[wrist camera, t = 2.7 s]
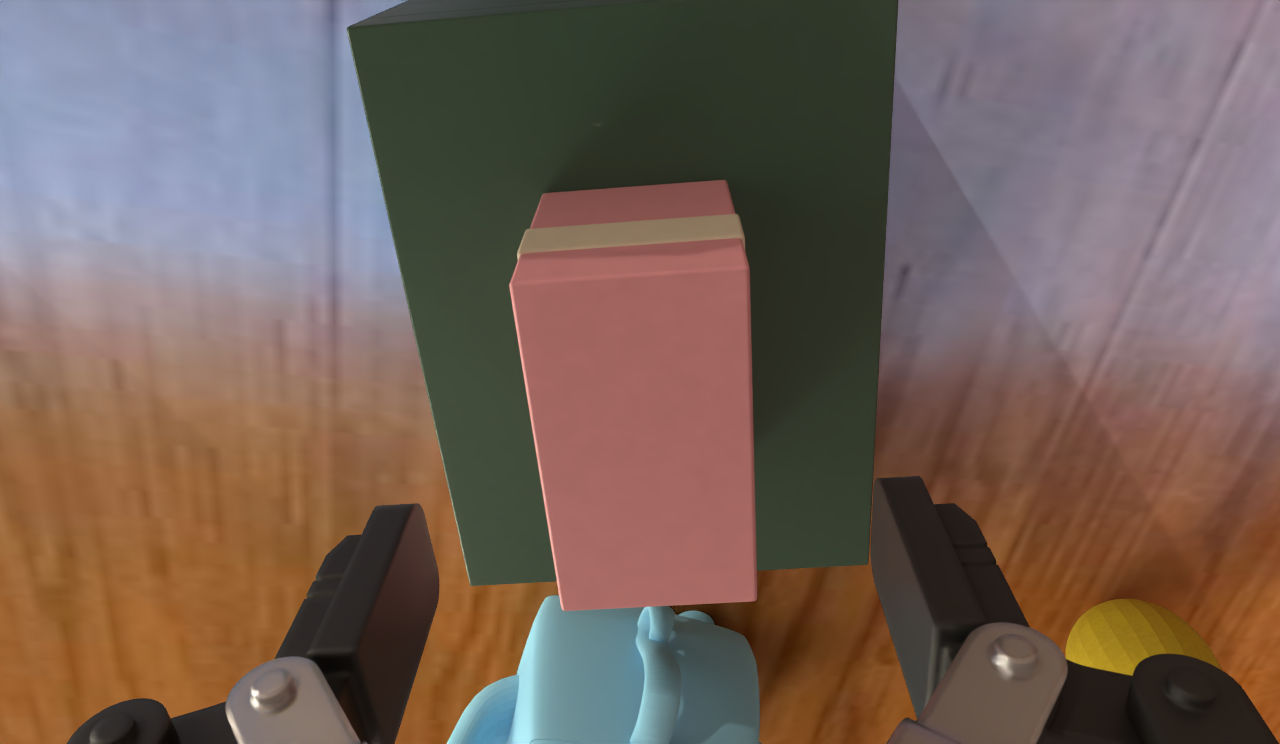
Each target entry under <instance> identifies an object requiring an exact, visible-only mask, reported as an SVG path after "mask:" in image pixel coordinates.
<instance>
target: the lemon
mask: <svg viewBox="0 0 1280 744" xmlns="http://www.w3.org/2000/svg"><path fill="white" fill-rule="evenodd" d="M1158 654H1180V655H1186V656H1190V657H1193V658H1197V659H1200V660H1202V661H1205V662H1207V663H1209V664H1211V665H1213V666H1215V667H1217V668H1219V669H1220V670H1222V669H1221V667H1220V665H1219V663H1218V661H1217V659H1216V657H1215V655H1214V654H1213V652H1212V650H1211V649H1210V647H1209V646H1208V645H1207V643H1206V642H1205V641H1204V639H1203V638H1202V637H1201V636H1200V635H1199V634H1198V633H1197V632H1196V631H1195V630H1194V629H1193V628H1192V627H1191V626H1189V625H1188V624H1187V623H1186V622H1185V621H1184V620H1183V619H1182V618H1180V617H1179V616H1178V615H1176V614H1175V613H1173V612H1171V611H1170V610H1168V609H1166V608H1163V607H1161V606H1159V605H1157V604H1154V603H1152V602H1147V601H1142V600H1137V599H1115V600H1109V601H1106V602H1103V603H1100V604H1098V605H1096V606H1094V607H1092V608H1091V609H1089V610H1087V611H1086V612H1085V613H1084V614H1083V615H1082V616H1081V617H1080V618H1079V619H1078V620H1077V622H1076V623H1075V624H1074V626H1073V627H1072V629H1071V632H1070V634H1069V637H1068V640H1067V644H1066V659H1067V660H1070V661H1072V662H1074V663H1077V664H1080V665H1083V666H1087V667H1091V668H1096V669H1101V670H1106V671H1111V672H1116V673H1121V674H1126V675H1131V676H1133V672H1134V670H1135V667H1136V666H1137V665H1138V664H1139V662H1141V661H1142V660H1144V659H1145V658H1147V657H1150V656H1153V655H1158Z"/></svg>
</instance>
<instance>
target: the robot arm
mask: <svg viewBox="0 0 1280 744" xmlns="http://www.w3.org/2000/svg"><path fill="white" fill-rule="evenodd" d="M871 564H872V572H873V578H874V582H875V586H876V589H877V592H878V595H879V599H880V602H881V605H882V608H883V611H884V614H885V618H886V621H887V624H888V627H889V630H890V633H891V637H892V640H893V643H894V646H895V649H896V653H897V656H898V659H899V662H900V665H901V668H902V672H903V675H904V678H905V681H906V684H907V687H908V691H909V694H910V697H911V700H912V703H913V707H914V710H915V713H916V716H917V720H916V721H914V720H912V719H910V718H905V719H903V720H902V721H901V722H900V724H899V725H898V726H897V728H896V729H895V731H894V732H893V734H892V735H891V737H890V739H889V740H888V742H887V744H1279V743H1278V741H1277V740H1276V738H1275V737H1274V735H1273V734H1272V732H1271V731H1270V729H1269V728H1268V726H1267V725H1266V723H1265V722H1264V720H1263V719H1262V717H1261V715H1260V714H1259V712H1258V711H1257V709H1256V708H1255V706H1254V705H1253V703H1252V702H1251V700H1250V699H1249V697H1248V696H1247V694H1246V693H1245V691H1244V690H1243V689H1242V687H1241V686H1240V685H1239V684H1238V683H1237V682H1236V681H1235V680H1234V679H1233V678H1232V677H1230V676H1229V675H1228V674H1227V673H1225V672H1224V671H1222V670H1220V669H1219V668H1217V667H1215V666H1213V665H1211V664H1209V663H1207V662H1205V661H1202V660H1200V659H1197V658H1193V657H1190V656H1186V655H1180V654H1158V655H1153V656H1150V657H1147V658H1145V659H1144V660H1142V661H1141V662H1139V664H1138V665H1137V666H1136V667H1135V670H1134V672H1133V676H1131V675H1126V674H1121V673H1116V672H1111V671H1106V670H1101V669H1096V668H1091V667H1087V666H1083V665H1080V664H1077V663H1074V662H1072V661H1070V660H1067V659H1066V658H1065V656H1064V654H1063V652H1062V651H1061V650H1060V648H1059V647H1058V646H1057V645H1056V644H1055V643H1054V642H1053V641H1052V640H1051V639H1049V638H1048V637H1047V636H1045V635H1043V634H1042V633H1040V632H1038V631H1036V630H1034V629H1032V628H1030V627H1029V625H1028V623H1027V621H1026V619H1025V617H1024V615H1023V613H1022V611H1021V609H1020V607H1019V605H1018V603H1017V601H1016V599H1015V597H1014V595H1013V593H1012V591H1011V589H1010V587H1009V585H1008V583H1007V581H1006V579H1005V577H1004V575H1003V573H1002V571H1001V570H1000V568H999V566H998V565H996V560H995V558H994V556H993V554H992V552H991V550H990V548H989V547H987V542H986V540H985V538H984V536H983V534H982V532H981V530H980V528H979V526H978V524H977V522H976V521H975V520H974V519H972V518H971V517H970V516H969V515H968V514H966V513H965V512H964V511H963V510H962V509H960V508H959V507H958V506H957V505H956V504H954V503H952V504H933V502H932V499H931V497H930V495H929V493H928V491H927V488H926V486H925V484H924V482H923V480H922V478H921V477H920V476H912V477H895V478H877V479H876V480H875V484H874V494H873V513H872V533H871ZM438 598H439V574H438V568H437V564H436V560H435V556H434V552H433V548H432V544H431V539H430V535H429V531H428V527H427V523H426V519H425V515H424V511H423V509H422V507H421V505H420V504H400V505H383V506H376V507H375V508H374V510H373V512H372V514H371V516H370V518H369V520H368V522H367V525H366V527H365V529H364V531H363V533H362V535H350V536H347V537H345V538H344V539H343V540H342V541H341V542H340V543H339V544H338V545H337V546H336V547H335V548H334V549H333V550H332V551H331V552H330V553H328V554H327V555H326V557H325V559H324V561H323V563H322V565H321V567H320V569H319V571H318V573H317V575H316V581H313V583H312V585H311V587H310V589H309V591H308V593H307V599H304V601H303V603H302V605H301V607H300V609H299V611H298V613H297V615H296V617H295V619H294V621H293V623H292V625H291V627H290V629H289V631H288V633H287V635H286V637H285V639H284V641H283V643H282V645H281V647H280V649H279V651H278V653H277V655H276V657H275V659H274V660H271V661H268V662H266V663H264V664H262V665H260V666H258V667H256V668H254V669H253V670H251V671H250V672H249V673H247V674H246V675H245V676H244V677H242V678H241V679H240V680H239V681H238V682H237V683H236V685H235V686H234V687H233V689H232V690H231V691H230V693H229V696H228V698H227V701H226V702H223V703H220V704H217V705H215V706H211V707H208V708H204V709H201V710H198V711H194V712H191V713H188V714H184V715H181V716H178V717H174V718H171V719H170V717H169V714H168V712H167V710H166V708H165V707H164V706H163V705H162V704H161V703H159V702H158V701H155V700H152V699H133V700H128V701H124V702H120V703H118V704H115V705H113V706H110V707H108V708H106V709H104V710H102V711H101V712H99V713H98V714H96V715H94V716H93V717H92V718H90V719H89V720H87V721H86V722H85V723H84V724H83V725H82V726H81V727H79V729H78V730H77V731H76V732H75V733H74V734H73V735H72V737H71V738H70V739H69V741H68V742H67V744H394V743H395V740H396V737H397V734H398V730H399V727H400V724H401V721H402V717H403V714H404V711H405V708H406V705H407V701H408V698H409V695H410V692H411V688H412V685H413V682H414V679H415V675H416V672H417V669H418V666H419V663H420V659H421V656H422V653H423V650H424V646H425V643H426V640H427V637H428V633H429V630H430V627H431V624H432V621H433V617H434V614H435V611H436V608H437V604H438Z"/></svg>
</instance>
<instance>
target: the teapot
mask: <svg viewBox="0 0 1280 744" xmlns="http://www.w3.org/2000/svg"><path fill="white" fill-rule="evenodd" d="M759 729H760V701H759V684H758V673H757V665H756V661H755V657H754V655H753V652H752V650H751V647H750V645H749V643H748V641H747V639H746V638H745V636H743V635H742V634H740V633H738V632H735V631H733V630H730V629H727V628H724V627H720V626H717V625H714V621H713V620H712V618H711V617H710V616H709V615H707V614H705V613H703V612H700V611H686V612H683V613H681V614H679V615H677V614H675V613H674V611H673V610H672V609H671V608H670V607H669V606H653V607H634V608H614V609H595V610H576V611H563V610H562V608H561V603H560V597H559V595H553V596H548V597H546V598H545V600H544V602H543V603H542V605H541V607H540V609H539V611H538V613H537V615H536V618H535V620H534V623H533V626H532V628H531V631H530V634H529V637H528V639H527V643H526V646H525V649H524V652H523V655H522V658H521V661H520V665H519V668H518V671H517V675H514V676H510V677H506V678H503V679H500V680H498V681H496V682H494V683H492V684H490V685H488V686H486V687H485V688H484V689H483V690H482V691H480V692H479V693H478V694H477V695H476V696H475V697H474V698H473V700H472V701H471V702H470V703H469V705H468V706H467V707H466V709H465V710H464V712H463V714H462V716H461V717H460V719H459V721H458V723H457V725H456V727H455V729H454V731H453V733H452V735H451V736H450V738H449V740H448V742H447V744H761V743H760V742H759Z"/></svg>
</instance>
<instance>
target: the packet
mask: <svg viewBox="0 0 1280 744" xmlns="http://www.w3.org/2000/svg"><path fill="white" fill-rule="evenodd" d="M517 257H518V262H517V265H516V268H515V270H514V273H513V276H512V279H511V281H510V285H509V287H510V294H511V300H512V306H513V312H514V318H515V325H516V331H517V337H518V343H519V349H520V356H521V362H522V368H523V374H524V380H525V387H526V393H527V399H528V405H529V411H530V418H531V424H532V430H533V436H534V442H535V449H536V455H537V461H538V467H539V473H540V480H541V486H542V492H543V498H544V504H545V511H546V517H547V523H548V529H549V535H550V541H551V548H552V554H553V560H554V566H555V572H556V579H557V585H558V591H559V597H560V603H561V608H562V610H563V611H576V610H595V609H614V608H634V607H653V606H672V605H692V604H711V603H730V602H750V601H756V599H757V561H756V518H755V475H754V432H753V389H752V346H751V303H750V268H749V264H748V260H747V256H746V253H745V236H744V232H743V229H742V225H741V221H740V218H739V215H738V214H735V210H734V206H733V203H732V199H731V195H730V191H729V187H728V183H727V181H726V180H714V181H700V182H687V183H673V184H660V185H647V186H633V187H620V188H607V189H593V190H580V191H567V192H553V193H544V194H542V197H541V200H540V202H539V205H538V208H537V211H536V213H535V216H534V219H533V221H532V224H531V227H530V229H527V230H526V231H525V233H524V236H523V238H522V241H521V244H520V246H519V249H518V252H517Z"/></svg>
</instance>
